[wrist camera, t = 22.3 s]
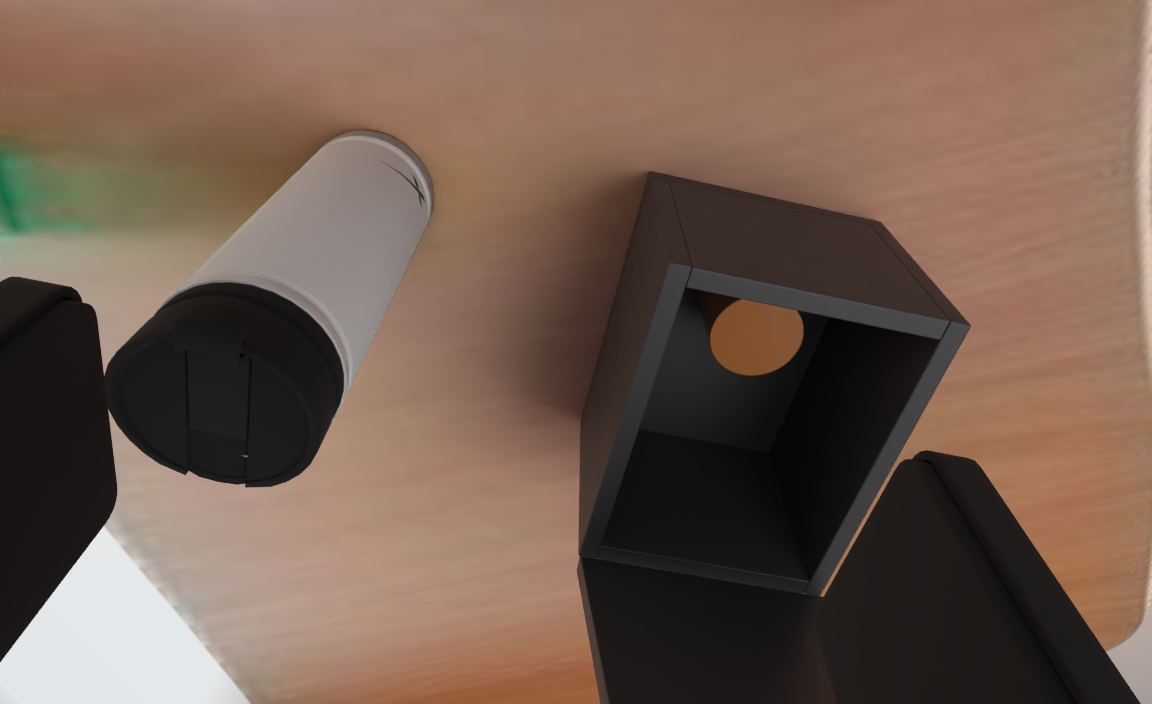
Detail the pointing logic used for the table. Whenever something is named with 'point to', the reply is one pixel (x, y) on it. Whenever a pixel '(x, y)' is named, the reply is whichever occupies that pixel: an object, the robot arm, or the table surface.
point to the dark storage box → (754, 389)
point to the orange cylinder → (750, 333)
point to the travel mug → (275, 319)
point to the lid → (699, 639)
